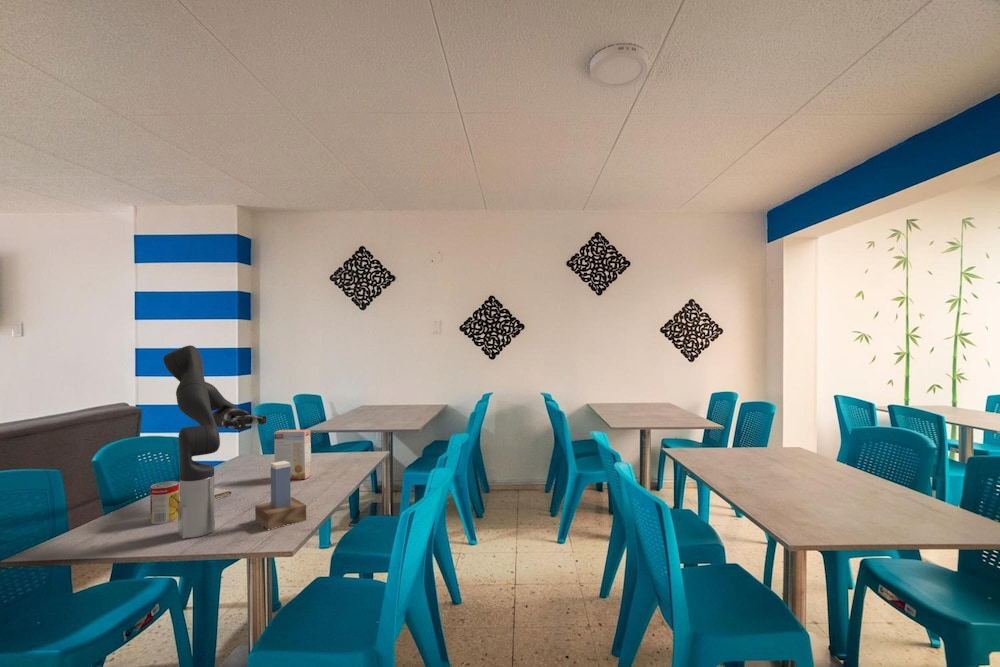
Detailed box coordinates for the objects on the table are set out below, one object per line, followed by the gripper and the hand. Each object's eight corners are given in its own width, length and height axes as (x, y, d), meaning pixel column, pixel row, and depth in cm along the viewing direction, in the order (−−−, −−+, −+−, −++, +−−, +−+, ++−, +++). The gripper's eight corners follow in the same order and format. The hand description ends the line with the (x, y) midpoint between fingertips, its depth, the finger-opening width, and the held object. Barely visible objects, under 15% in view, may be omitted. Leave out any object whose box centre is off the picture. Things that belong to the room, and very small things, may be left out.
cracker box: (311, 476, 212) (311, 429, 213) (304, 480, 206) (304, 431, 207) (281, 475, 214) (281, 429, 214) (274, 479, 208) (273, 431, 208)
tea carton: (276, 508, 156) (275, 465, 156) (271, 505, 159) (270, 463, 160) (290, 505, 159) (290, 462, 160) (285, 502, 163) (284, 460, 163)
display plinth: (268, 530, 151) (268, 514, 151) (255, 520, 159) (255, 505, 159) (306, 520, 159) (306, 504, 159) (292, 511, 168) (291, 497, 168)
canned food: (181, 514, 167) (181, 479, 167) (175, 522, 159) (175, 486, 160) (154, 517, 164) (154, 482, 164) (147, 525, 156) (147, 489, 157)
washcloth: (165, 506, 177) (165, 498, 177) (213, 492, 193) (213, 485, 193) (184, 511, 171) (184, 502, 171) (232, 496, 187) (232, 488, 187)
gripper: (216, 411, 181) (229, 415, 170) (256, 407, 191) (271, 410, 180) (216, 431, 181) (229, 436, 170) (256, 426, 191) (271, 430, 180)
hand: (250, 423), depth 175 cm, fingers open, 8 cm apart
